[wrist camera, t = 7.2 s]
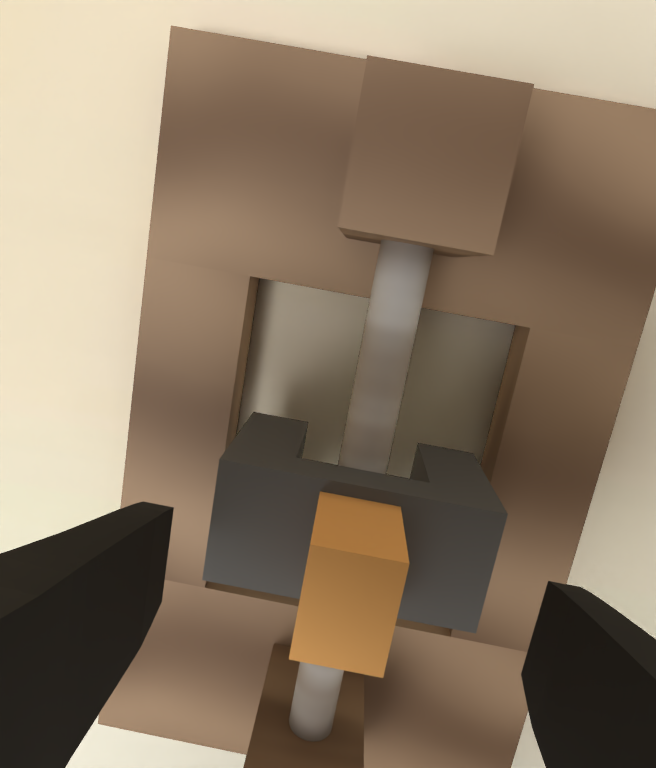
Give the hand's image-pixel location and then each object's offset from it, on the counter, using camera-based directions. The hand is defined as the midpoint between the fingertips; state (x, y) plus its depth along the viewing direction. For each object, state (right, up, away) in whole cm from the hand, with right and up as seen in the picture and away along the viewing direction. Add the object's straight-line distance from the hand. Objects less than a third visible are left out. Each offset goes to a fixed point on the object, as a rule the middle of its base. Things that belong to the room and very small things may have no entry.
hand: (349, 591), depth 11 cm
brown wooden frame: (+1, +2, +8) cm, 8 cm away
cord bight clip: (0, +1, +6) cm, 6 cm away
